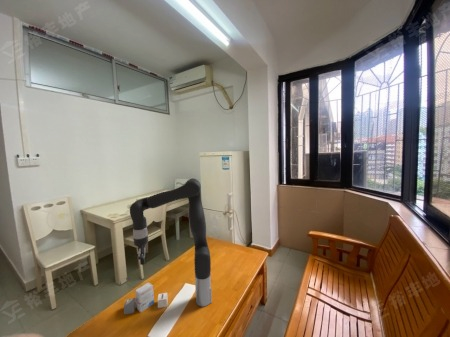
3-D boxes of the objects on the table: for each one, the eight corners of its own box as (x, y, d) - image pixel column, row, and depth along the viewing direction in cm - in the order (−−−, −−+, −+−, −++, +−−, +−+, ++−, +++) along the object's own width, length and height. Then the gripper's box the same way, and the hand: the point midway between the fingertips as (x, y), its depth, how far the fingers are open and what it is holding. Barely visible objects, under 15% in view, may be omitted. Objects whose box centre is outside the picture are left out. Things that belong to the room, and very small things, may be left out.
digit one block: (167, 299, 115) (167, 292, 115) (166, 306, 110) (166, 298, 110) (159, 301, 114) (158, 293, 114) (158, 308, 109) (157, 300, 109)
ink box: (150, 299, 116) (148, 281, 115) (154, 303, 113) (153, 285, 111) (136, 308, 110) (134, 289, 108) (140, 313, 106) (139, 294, 105)
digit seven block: (136, 305, 111) (135, 297, 111) (133, 312, 107) (133, 304, 106) (127, 307, 110) (126, 299, 110) (124, 314, 106) (123, 306, 105)
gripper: (145, 240, 100) (147, 270, 102) (149, 229, 113) (151, 256, 115) (130, 241, 99) (132, 272, 101) (136, 230, 112) (138, 258, 114)
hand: (142, 263), depth 108 cm, fingers closed
